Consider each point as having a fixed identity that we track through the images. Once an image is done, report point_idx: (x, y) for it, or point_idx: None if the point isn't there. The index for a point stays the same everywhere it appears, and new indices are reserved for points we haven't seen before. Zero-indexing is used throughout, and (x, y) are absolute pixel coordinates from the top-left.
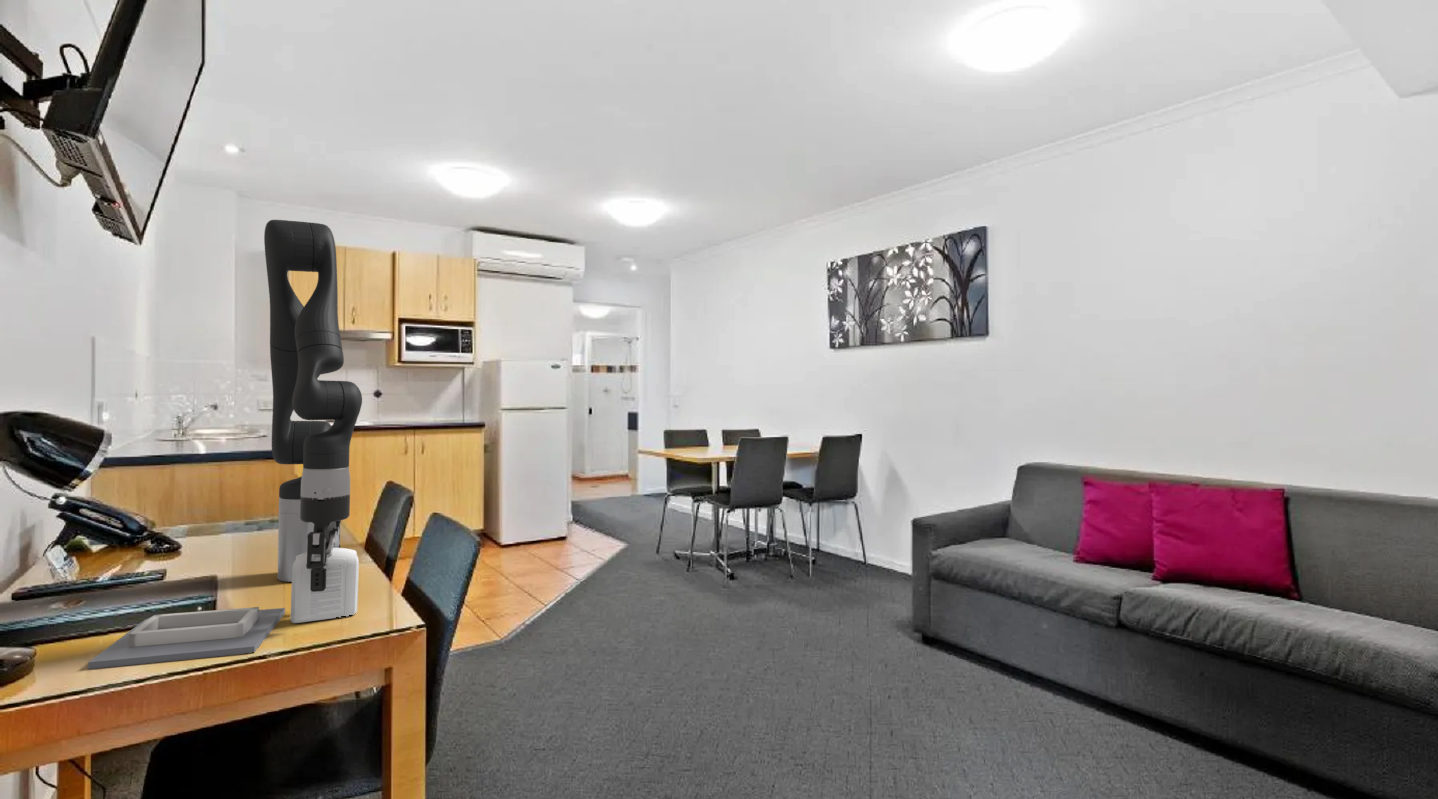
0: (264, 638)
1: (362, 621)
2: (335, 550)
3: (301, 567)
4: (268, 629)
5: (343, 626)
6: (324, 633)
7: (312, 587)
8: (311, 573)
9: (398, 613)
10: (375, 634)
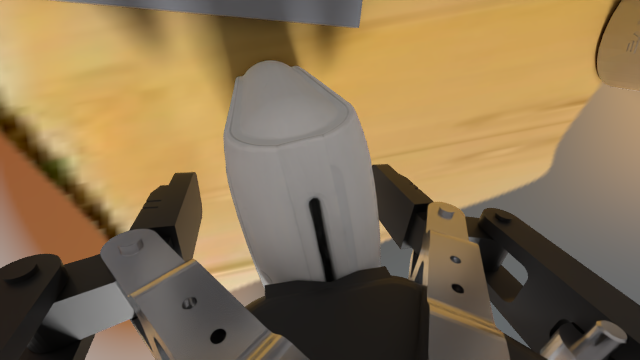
0: (96, 4)
1: (233, 222)
2: None
3: (226, 165)
4: (147, 8)
5: (204, 194)
6: (154, 165)
7: (153, 191)
8: (154, 218)
9: None
10: None
